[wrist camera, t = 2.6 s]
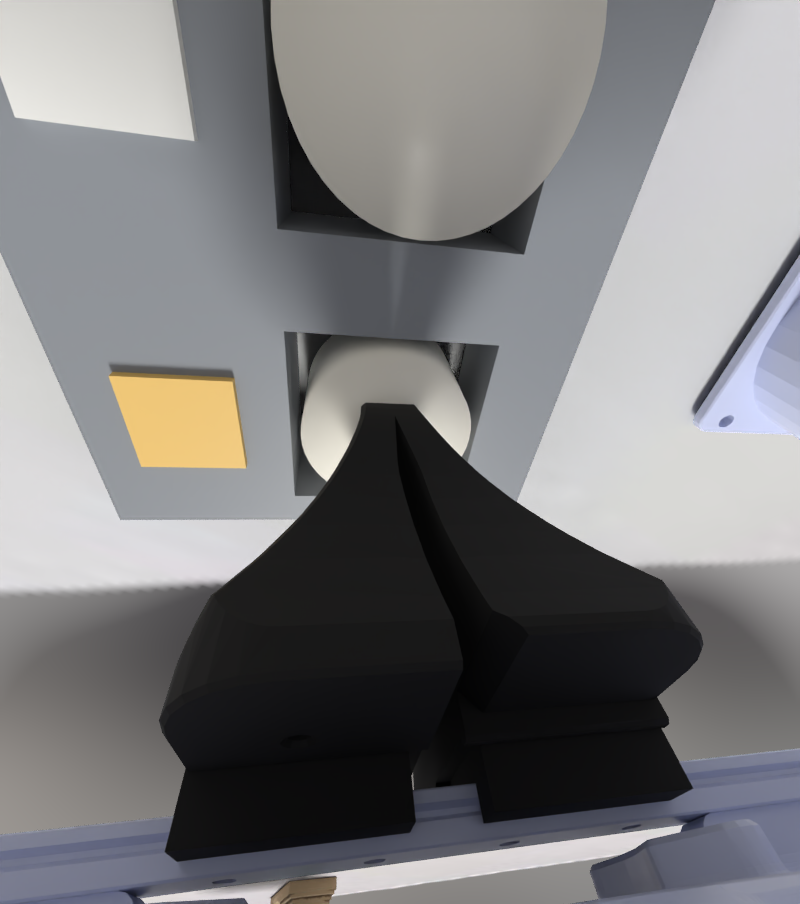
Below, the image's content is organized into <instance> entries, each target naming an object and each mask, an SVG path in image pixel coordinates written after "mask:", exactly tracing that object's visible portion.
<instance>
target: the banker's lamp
mask: <svg viewBox="0 0 800 904" xmlns="http://www.w3.org/2000/svg"><path fill="white" fill-rule="evenodd" d="M334 890H336V877H330V878H320V879H310V880H299V881H290V882H289V883H287V884H286V885H285V886H284V887H283V888H282V889H281V890H280V891H279V892H278V893H276V894H275V895H274V896H273V897H272V898H271V904H329V900H331V896H332V895H333V894H334Z"/></svg>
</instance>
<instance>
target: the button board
mask: <svg viewBox="0 0 800 904" xmlns="http://www.w3.org/2000/svg"><path fill="white" fill-rule="evenodd" d="M714 2H715V0H607V14H606V26H605V32H604V39H603V45H602V51H601V57H600V61H599V64H598V68H597V72H596V76H595V80H594V84H593V87H592V90H591V93H590V96H589V99H588V102H587V105H586V107H585V110H584V112H583V115H582V117H581V119H580V121H579V124H578V126H577V128H576V130H575V133H574V135H573V136H572V138H571V140H570V142H569V144H568V145H567V147H566V149H565V151H564V153H563V154H562V156H561V158H560V159H559V160H558V162H557V163H556V165H555V166H554V168H553V169H552V171H551V172H550V173H549V175H548V176H547V177H546V178H545V180H544V181H543V182H542V183H541V184H540V185H539V187H538V188H537V189H536V190H535V191H534V192H533V193H532V194H531V195H530V196H529V197H528V198H527V199H526V200H525V201H524V202H523V203H522V204H521V205H520V206H519V207H517V208H516V209H515V210H513V211H512V212H511V213H509V214H508V215H507V216H505V217H504V218H503V219H501V220H499V221H497V222H496V223H494V224H492V228H491V233H484V232H475V233H473V234H470V235H466V236H463V237H459V238H455V239H449V240H440V241H422V240H414V239H409V238H403V237H400V236H397V235H394V234H391V233H388V232H385V231H383V230H381V229H379V228H377V227H375V226H373V225H371V224H369V223H368V222H367V221H365V220H364V219H357V218H348V217H339V216H330V215H321V214H312V213H303V212H294V211H291V193H290V171H289V149H288V128H287V109H286V106H285V102H284V99H283V96H282V92H281V89H280V84H279V79H278V74H277V69H276V64H275V59H274V51H273V41H272V32H271V0H0V253H1V255H2V257H3V259H4V261H5V264H6V266H7V268H8V270H9V273H10V275H11V277H12V279H13V282H14V284H15V286H16V288H17V290H18V293H19V295H20V297H21V299H22V302H23V304H24V306H25V308H26V311H27V313H28V315H29V317H30V319H31V322H32V324H33V326H34V328H35V331H36V333H37V335H38V337H39V340H40V342H41V344H42V346H43V348H44V351H45V353H46V355H47V357H48V360H49V362H50V364H51V366H52V369H53V371H54V373H55V375H56V377H57V380H58V382H59V384H60V386H61V389H62V391H63V393H64V395H65V398H66V400H67V402H68V404H69V406H70V409H71V411H72V413H73V415H74V418H75V420H76V422H77V424H78V427H79V429H80V431H81V433H82V435H83V438H84V440H85V442H86V444H87V447H88V449H89V451H90V453H91V456H92V458H93V460H94V462H95V464H96V467H97V469H98V471H99V473H100V476H101V478H102V480H103V482H104V485H105V487H106V489H107V491H108V493H109V496H110V498H111V500H112V502H113V505H114V507H115V509H116V511H117V514H118V516H119V518H120V520H237V519H297V518H298V517H299V516H300V515H301V514H302V513H303V512H304V510H305V509H306V508H307V507H308V506H309V504H310V503H311V502H312V501H313V500H314V498H315V497H316V496H317V495H318V493H319V492H320V491H321V489H322V488H323V487H324V485H325V484H326V483H327V481H326V480H325V479H323V478H322V477H321V476H320V475H319V474H318V473H317V472H316V471H315V470H314V468H313V467H312V465H311V464H310V463H309V461H308V459H307V457H306V455H305V453H304V449H303V446H302V441H301V410H300V388H299V367H298V345H297V332H302V333H317V334H332V335H347V336H362V337H377V338H393V339H408V340H423V341H438V342H453V343H466V347H465V351H464V356H463V360H462V365H461V370H460V374H459V379H458V385H459V387H460V389H461V391H462V394H463V396H464V398H465V400H466V402H467V405H468V408H469V411H470V418H471V432H470V437H469V441H468V444H467V447H466V449H465V451H464V453H463V455H462V458H463V459H465V460H466V461H467V462H468V463H469V464H470V465H471V466H472V467H473V468H474V469H475V470H476V471H478V472H479V473H480V474H481V475H482V476H483V477H485V478H486V479H487V480H488V481H489V482H491V483H492V484H493V485H495V486H496V487H497V488H499V489H500V490H501V491H502V492H504V493H505V494H506V495H508V496H509V497H510V498H512V499H513V500H514V501H516V502H517V499H518V497H519V494H520V492H521V489H522V487H523V484H524V482H525V479H526V477H527V474H528V472H529V469H530V466H531V464H532V461H533V459H534V456H535V454H536V451H537V449H538V446H539V444H540V441H541V439H542V436H543V434H544V431H545V429H546V426H547V424H548V421H549V419H550V416H551V414H552V411H553V408H554V406H555V403H556V401H557V398H558V396H559V393H560V391H561V388H562V386H563V383H564V381H565V378H566V376H567V373H568V371H569V368H570V366H571V363H572V361H573V358H574V356H575V353H576V350H577V348H578V345H579V343H580V340H581V338H582V335H583V333H584V330H585V328H586V325H587V323H588V320H589V318H590V315H591V313H592V310H593V308H594V305H595V303H596V300H597V298H598V295H599V292H600V290H601V287H602V285H603V282H604V280H605V277H606V275H607V272H608V270H609V267H610V265H611V262H612V260H613V257H614V255H615V252H616V250H617V247H618V245H619V242H620V240H621V237H622V234H623V232H624V229H625V227H626V224H627V222H628V219H629V217H630V214H631V212H632V209H633V207H634V204H635V202H636V199H637V197H638V194H639V192H640V189H641V187H642V184H643V182H644V179H645V176H646V174H647V171H648V169H649V166H650V164H651V161H652V159H653V156H654V154H655V151H656V149H657V146H658V144H659V141H660V139H661V136H662V134H663V131H664V129H665V126H666V124H667V121H668V118H669V116H670V113H671V111H672V108H673V106H674V103H675V101H676V98H677V96H678V93H679V91H680V88H681V86H682V83H683V81H684V78H685V76H686V73H687V71H688V68H689V66H690V63H691V60H692V58H693V55H694V53H695V50H696V48H697V45H698V43H699V40H700V38H701V35H702V33H703V30H704V28H705V25H706V23H707V20H708V18H709V15H710V13H711V10H712V8H713V5H714Z"/></svg>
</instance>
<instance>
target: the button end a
mask: <svg viewBox="0 0 800 904" xmlns="http://www.w3.org/2000/svg"><path fill="white" fill-rule="evenodd" d="M365 403H390V404H414V405H415V406H416V407H417V408H418V410H419V411H420V412H421V413H422V414H423V415H424V417H425V418H426V419H427V420H428V421H429V422H430V424H431V425H432V426H433V427H434V428H435V429H436V430H437V432H438V433H439V434H440V435H441V436H442V437H443V438H444V439H445V440H446V441H447V442H448V444H449V445H450V446H451V447H452V448H453V449H454V450H455V451H456V452H457V453H458V454H459V455H460V456H461V457H462V455H463V453H464V451H465V449H466V447H467V444H468V441H469V437H470V432H471V418H470V411H469V408H468V405H467V402H466V400H465V398H464V396H463V394H462V391H461V389H460V387H459V385H458V383H457V381H456V378H455V376H454V374H453V372H452V370H451V368H450V365H449V363H448V361H447V359H446V357H445V355H444V353H443V351H442V349H441V348H440V347H439V345H438V344H437V343H436V342H435V341H423V340H408V339H393V338H377V337H362V336H347V335H332V336H331V337H330V338H329V339H328V340H327V341H326V342H325V343H324V344H323V345H322V347H321V348H320V349H319V351H318V352H317V354H316V356H315V358H314V360H313V362H312V365H311V368H310V373H309V378H308V385H307V391H306V397H305V404H304V410H303V416H302V423H301V441H302V446H303V449H304V453H305V455H306V457H307V459H308V461H309V463H310V464H311V465H312V467H313V468H314V470H315V471H316V472H317V473H318V474H319V475H320V476H321V477H322V478H323V479H325V480H326V481H328V480H329V478H330V477H331V475H332V474H333V472H334V471H335V469H336V467H337V466H338V464H339V462H340V460H341V459H342V457H343V455H344V453H345V452H346V450H347V448H348V446H349V444H350V442H351V439H352V437H353V435H354V433H355V430H356V428H357V425H358V422H359V419H360V415H361V406H362V405H363V404H365Z"/></svg>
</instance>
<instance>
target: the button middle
mask: <svg viewBox="0 0 800 904" xmlns="http://www.w3.org/2000/svg"><path fill="white" fill-rule="evenodd" d="M606 14H607V0H271V32H272V41H273V51H274V59H275V64H276V69H277V74H278V79H279V84H280V89H281V92H282V96H283V99H284V102H285V106H286V109H287V112H288V116H289V118H290V121H291V123H292V125H293V128H294V130H295V133H296V135H297V138H298V140H299V142H300V144H301V146H302V148H303V150H304V151H305V153H306V155H307V157H308V159H309V161H310V163H311V164H312V166H313V167H314V168H315V170H316V171H317V173H318V174H319V176H320V177H321V179H322V180H323V182H324V183H325V184H326V185H327V186H328V188H329V189H330V190H331V191H332V192H333V193H334V194H335V196H336V197H337V198H338V199H339V200H340V201H341V202H342V203H344V204H345V205H346V206H347V207H348V208H349V209H350V210H351V211H352V212H354V213H355V214H356V215H358V216H359V217H361V218H362V219H364V220H365V221H367V222H368V223H369V224H371V225H373V226H375V227H377V228H379V229H381V230H383V231H385V232H388V233H391V234H394V235H397V236H400V237H403V238H409V239H414V240H422V241H440V240H449V239H455V238H459V237H463V236H466V235H470V234H473V233H475V232H477V231H480V230H482V229H485V228H487V227H489V226H490V225H492V224H494V223H496V222H497V221H499V220H501V219H503V218H504V217H505V216H507V215H508V214H509V213H511V212H512V211H513V210H515V209H516V208H517V207H519V206H520V205H521V204H522V203H523V202H524V201H525V200H526V199H527V198H528V197H529V196H530V195H531V194H532V193H533V192H534V191H535V190H536V189H537V188H538V187H539V185H540V184H541V183H542V182H543V181H544V180H545V178H546V177H547V176H548V175H549V173H550V172H551V171H552V169H553V168H554V166H555V165H556V163H557V162H558V160H559V159H560V158H561V156H562V154H563V153H564V151H565V149H566V147H567V145H568V144H569V142H570V140H571V138H572V136H573V135H574V133H575V130H576V128H577V126H578V124H579V121H580V119H581V117H582V115H583V112H584V110H585V107H586V105H587V102H588V99H589V96H590V93H591V90H592V87H593V84H594V80H595V76H596V72H597V68H598V64H599V61H600V57H601V51H602V45H603V39H604V32H605V26H606Z"/></svg>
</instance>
